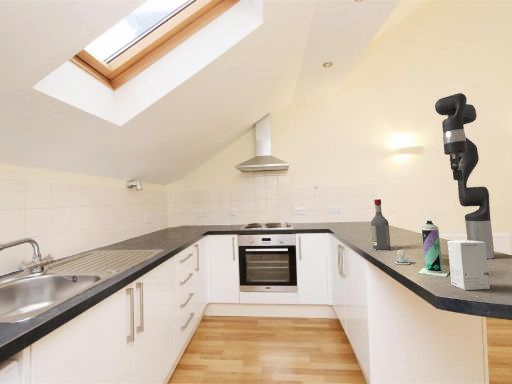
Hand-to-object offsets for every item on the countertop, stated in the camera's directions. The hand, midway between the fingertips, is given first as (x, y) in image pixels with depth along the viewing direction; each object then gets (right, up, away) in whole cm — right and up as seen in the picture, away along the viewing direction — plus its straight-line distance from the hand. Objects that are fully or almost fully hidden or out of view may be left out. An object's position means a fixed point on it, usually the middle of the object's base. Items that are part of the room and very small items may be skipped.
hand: (458, 180), depth 106 cm
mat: (-15, -37, -6) cm, 40 cm away
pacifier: (-18, -38, +10) cm, 43 cm away
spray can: (-15, -37, -6) cm, 40 cm away
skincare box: (-15, -36, -24) cm, 46 cm away
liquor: (-9, -40, +46) cm, 61 cm away
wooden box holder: (-6, -37, -1) cm, 37 cm away
